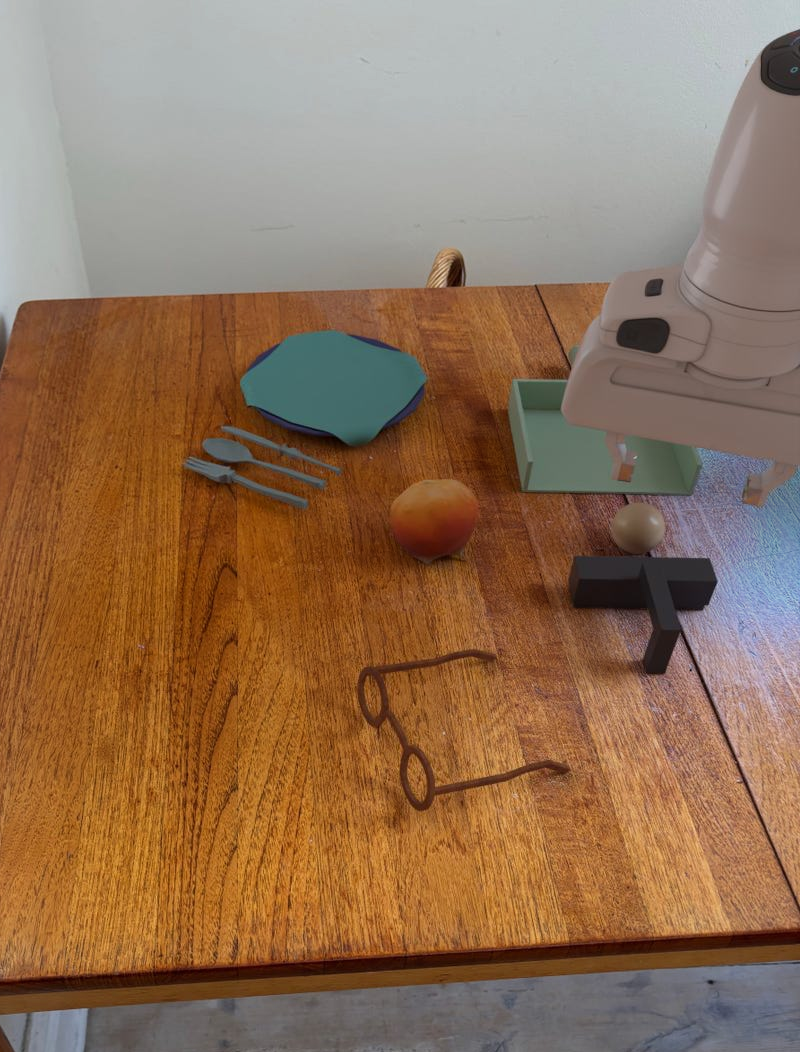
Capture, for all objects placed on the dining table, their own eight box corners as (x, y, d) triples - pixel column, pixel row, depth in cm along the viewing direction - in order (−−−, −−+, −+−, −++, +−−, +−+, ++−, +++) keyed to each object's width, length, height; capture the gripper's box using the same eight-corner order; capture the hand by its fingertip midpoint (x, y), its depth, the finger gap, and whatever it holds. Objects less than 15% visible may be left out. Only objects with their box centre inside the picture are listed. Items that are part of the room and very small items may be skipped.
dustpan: (692, 495, 104) (702, 464, 102) (522, 492, 104) (528, 461, 102) (646, 366, 120) (654, 336, 118) (499, 363, 121) (503, 334, 118)
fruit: (424, 583, 93) (408, 496, 91) (387, 569, 100) (372, 488, 98) (502, 558, 95) (488, 473, 93) (461, 547, 103) (447, 467, 100)
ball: (652, 531, 101) (664, 492, 97) (662, 565, 97) (675, 525, 94) (602, 530, 101) (613, 491, 97) (611, 564, 97) (622, 524, 94)
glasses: (352, 698, 86) (354, 658, 82) (494, 657, 89) (502, 616, 85) (419, 826, 78) (425, 786, 74) (572, 775, 81) (585, 735, 77)
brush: (566, 586, 95) (577, 541, 91) (698, 588, 95) (715, 544, 91) (584, 672, 88) (596, 628, 84) (726, 675, 88) (746, 631, 84)
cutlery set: (454, 379, 118) (456, 361, 117) (318, 527, 101) (318, 508, 99) (304, 330, 125) (304, 313, 123) (152, 461, 107) (150, 443, 106)
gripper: (911, 320, 67) (833, 490, 77) (591, 271, 71) (556, 439, 81) (919, 372, 63) (835, 544, 73) (578, 317, 67) (543, 487, 77)
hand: (685, 488), depth 77 cm, fingers open, 8 cm apart
